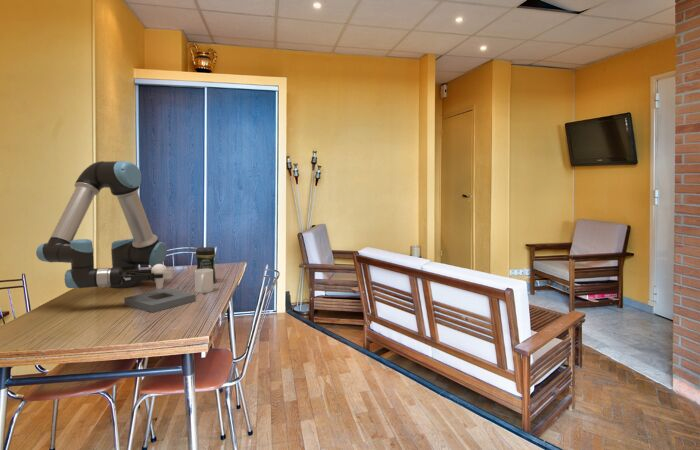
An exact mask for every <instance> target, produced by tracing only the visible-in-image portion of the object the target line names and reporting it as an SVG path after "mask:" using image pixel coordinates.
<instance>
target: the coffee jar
mask: <svg viewBox="0 0 700 450" xmlns="http://www.w3.org/2000/svg"><path fill="white" fill-rule="evenodd" d="M195 258H196V264H197V265H196V270H197V269H213V284H214V283H216V280H217V279H216V269H215V258H216V250H215V248H214V247H213V246H212V247H210V246H209V247H208V246H207V247H203V246H202V247H197V248H196V250H195Z"/></svg>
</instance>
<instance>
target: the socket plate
mask: <svg viewBox="0 0 700 450" xmlns="http://www.w3.org/2000/svg"><path fill="white" fill-rule="evenodd" d="M196 294H197V293H196ZM196 294H195V293H192V292H187V291H181V290H177V289H173V288H168V287H166V288H161V289H160V290H159V289H157V290H154V291H150V292H145V293H140V294H135V295H132V296H127V297H124V298H123V299H124V302H123V303H124V306H127V307H131V308H135V309H137V310H141V311H144V312H148V313H150V314H151V313H152V314H153V313H157V312H161V311H163V310H164V311H166V310H168V309H172V308H175V307H178V306H182V305H186V304H190V303H194V302H196V301H197V300H196V299H197V297H196Z"/></svg>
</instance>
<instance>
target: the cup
mask: <svg viewBox="0 0 700 450" xmlns="http://www.w3.org/2000/svg"><path fill="white" fill-rule="evenodd" d="M194 290H195V293H196V294H208V293H211V292H213V291H214V283H213V269H197V268H196V269H195V270H194Z"/></svg>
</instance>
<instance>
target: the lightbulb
mask: <svg viewBox="0 0 700 450" xmlns="http://www.w3.org/2000/svg"><path fill="white" fill-rule="evenodd" d="M167 269H168V268H167V266H166V265H164V264H162V263H161V264H156V265H153V266H152V268H151V273H154V274H155V273H157V272H167ZM164 281H165V279H155V281H154V282H155V288H156V289H157V290H162V289H164Z"/></svg>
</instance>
